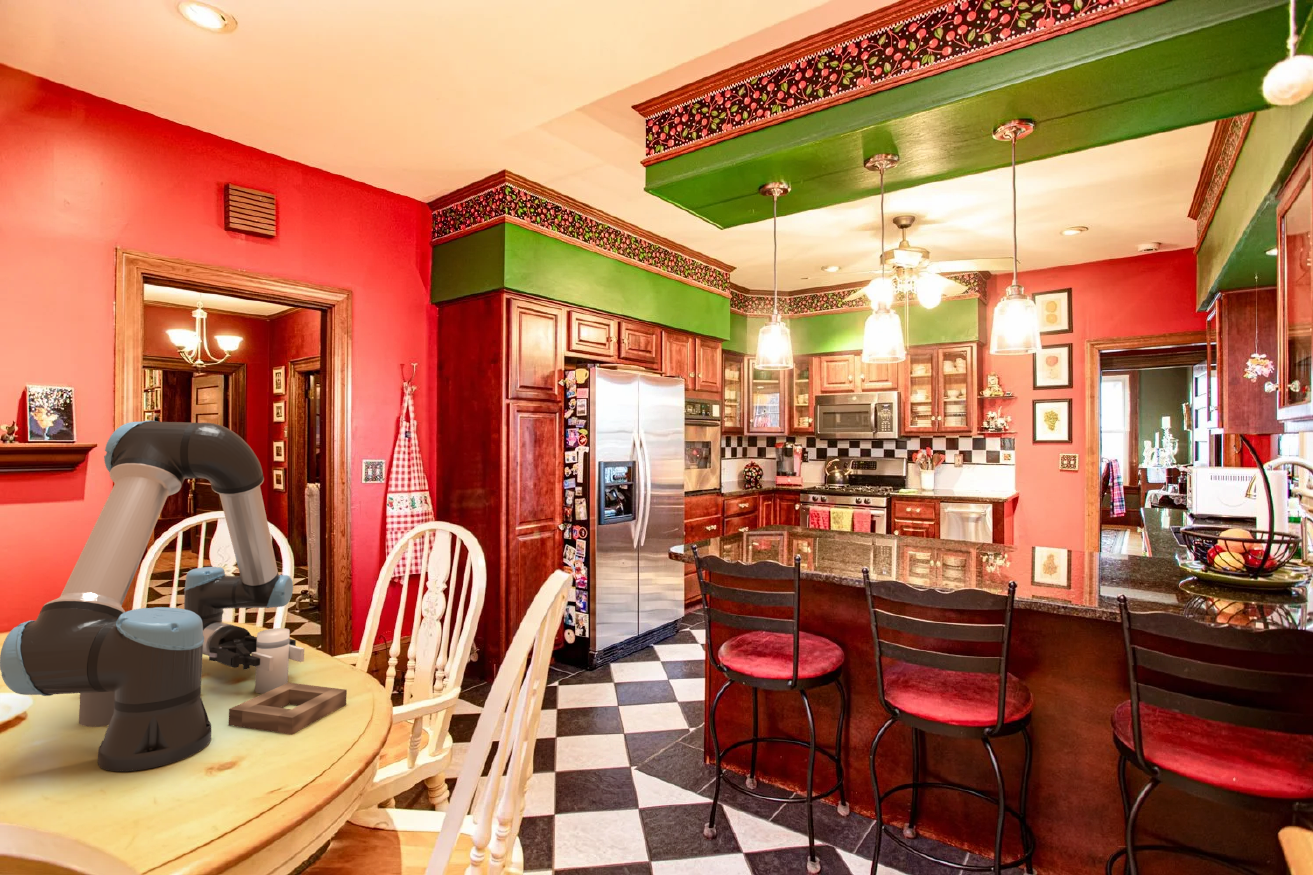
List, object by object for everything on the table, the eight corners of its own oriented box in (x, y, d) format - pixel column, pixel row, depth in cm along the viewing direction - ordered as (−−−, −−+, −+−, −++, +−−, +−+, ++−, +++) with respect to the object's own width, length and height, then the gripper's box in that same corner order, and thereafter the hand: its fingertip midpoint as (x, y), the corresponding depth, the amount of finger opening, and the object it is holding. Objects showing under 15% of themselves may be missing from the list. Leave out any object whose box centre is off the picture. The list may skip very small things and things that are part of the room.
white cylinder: (271, 695, 132) (273, 637, 132) (247, 691, 133) (249, 634, 134) (294, 684, 138) (296, 629, 138) (271, 681, 139) (273, 627, 140)
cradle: (291, 734, 114) (292, 717, 114) (228, 725, 118) (229, 708, 118) (346, 704, 128) (346, 689, 128) (288, 696, 131) (288, 682, 131)
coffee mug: (76, 731, 114) (79, 675, 114) (81, 713, 121) (83, 660, 122) (170, 713, 122) (172, 661, 122) (169, 697, 130) (170, 648, 130)
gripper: (267, 647, 153) (328, 664, 142) (177, 670, 136) (239, 691, 125) (268, 616, 153) (329, 630, 142) (179, 635, 136) (240, 653, 125)
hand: (287, 659), depth 133 cm, fingers closed on white cylinder, 6 cm apart
